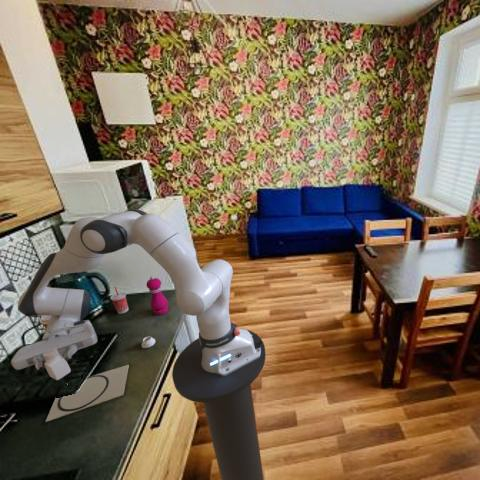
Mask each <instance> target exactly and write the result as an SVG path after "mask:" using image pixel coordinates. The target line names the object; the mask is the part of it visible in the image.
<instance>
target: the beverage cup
mask: <svg viewBox="0 0 480 480" xmlns="http://www.w3.org/2000/svg"><path fill="white" fill-rule="evenodd" d="M117 289H118V288H117V286H114V290H115V293H114V294H112V295H111V296H110V298H109V299H110V300H111V301H112V304H113V306H114V308H115V310H116V313H117V314H118V315H121V314H125V313H127V312H128V311H129V310H130V308H129V304H128V300H127V294H126V292H123V291H122V292H121V291H119V292H118V290H117Z"/></svg>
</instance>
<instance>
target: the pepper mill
mask: <svg viewBox="0 0 480 480" xmlns="http://www.w3.org/2000/svg"><path fill="white" fill-rule="evenodd" d="M146 288H147V289H148V291H149V294H151V301H150V308H151V309H152V311H153V314H154V315H156V316H161V315H164V314H166V313H167V312H168V311H169V306H168V305H169V302H168V300H167V297H166V296H164V295H163V293H162V281H161V279H160V278H157V277H155V276H154V275H151V276H150V277H149V279H148V280H147V282H146Z"/></svg>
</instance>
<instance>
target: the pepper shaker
mask: <svg viewBox="0 0 480 480" xmlns="http://www.w3.org/2000/svg"><path fill="white" fill-rule="evenodd" d="M43 356H44V358H45V360H46V361H44V368H45V370H46V372H47V373H48V375H49V377H50V378H52V379H53V380H55V381H59V380H62V379H63V378H64V377H65V376H67V375H68V374H70V373H71V371H72V370H71V367H70V365H69V364H68V360H65V358H64V355H59V353H58V351H57V349H56V348H53V349H50V350H47V351H46V352H44V354H43Z"/></svg>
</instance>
